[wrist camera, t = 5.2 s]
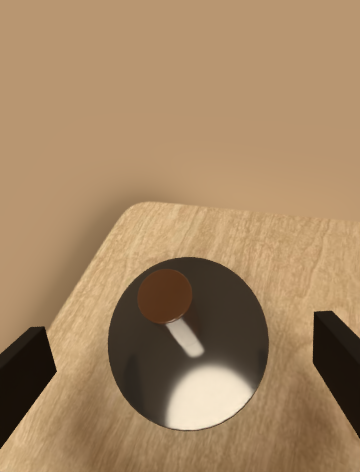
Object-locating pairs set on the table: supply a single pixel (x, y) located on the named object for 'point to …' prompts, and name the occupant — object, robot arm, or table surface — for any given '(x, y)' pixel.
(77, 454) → the table surface
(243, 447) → the table surface
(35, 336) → the robot arm
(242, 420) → the table surface
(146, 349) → the lid
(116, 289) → the table surface
